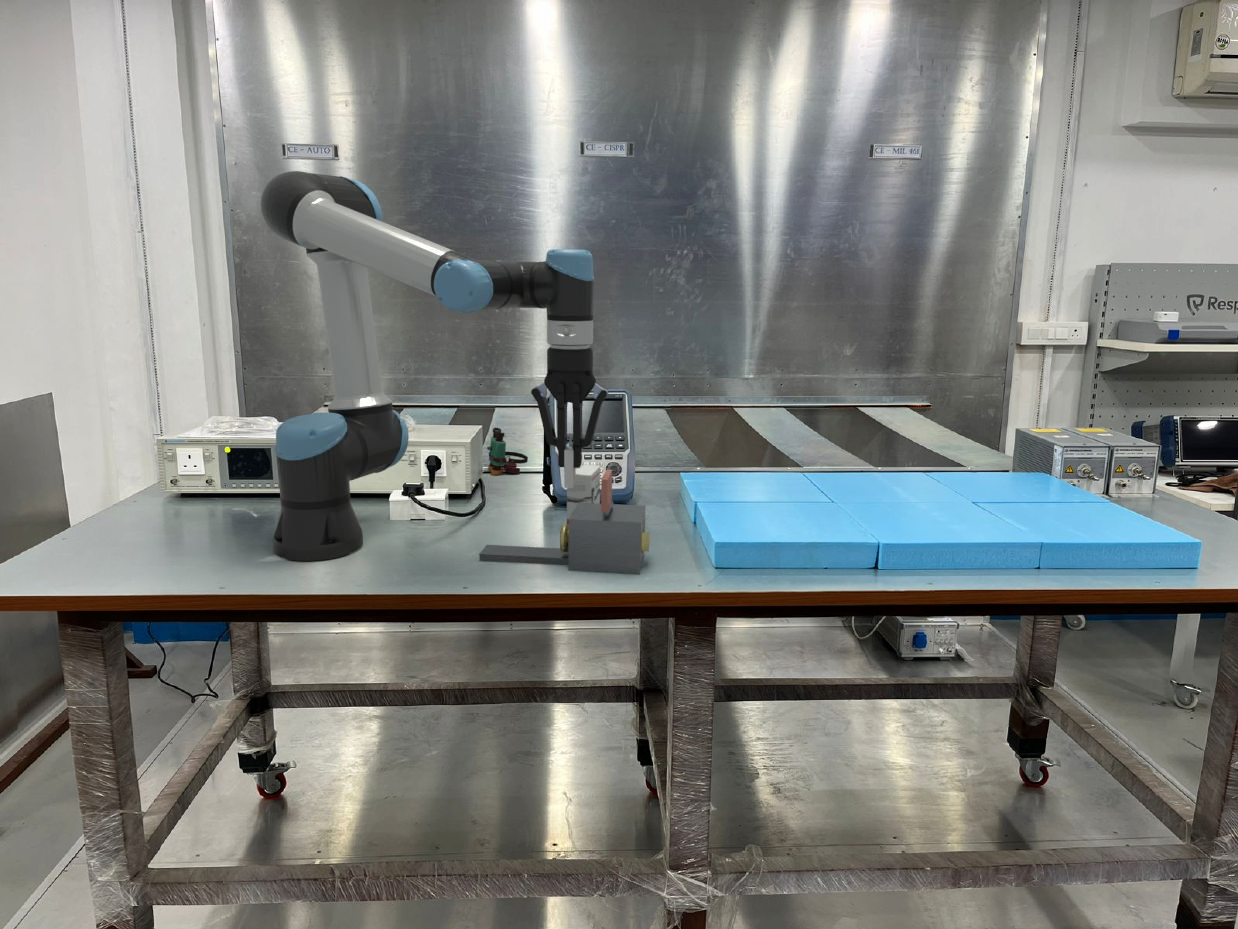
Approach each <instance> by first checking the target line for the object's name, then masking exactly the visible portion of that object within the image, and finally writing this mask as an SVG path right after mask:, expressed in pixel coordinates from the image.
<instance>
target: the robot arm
mask: <svg viewBox="0 0 1238 929" xmlns="http://www.w3.org/2000/svg"><path fill="white" fill-rule="evenodd" d="M260 209H261V210H260V211H261V212H260V213H261V214H262V218H263V220H264V222H265V223H266V226H267V227H268V228H269V229H270V231H272V232H273V233H274V234H275V236H277V237H279V238H281V239H283V240H285V241H287V242H289V243H292V244H296V245H297V246H300V247H302V248H304V249H305V253H306V257H308V258H309V259H310V260H311V261H312V262H314V263H315V265H316V266H317V267H316V268H317V274H318V282H319V288H320V289H319V291H320V296H321V298H320V299H321V304H322V310H323V311H322V312H323V318H324V326H325V333H326V340H327V350H328V354H329V362H330V369H331V370H330V371H331V376H332V384H333V391H334V397H333V400H331V402H329V404H328V405H327V412H312V413H311V414H302V415H297V416H294V417H291V418H289V419H286V420H285V421H283V422H282V423H281V424H280V425H279V426H278V427H277V429H276V431H275V432H276V433H275V443H276V444H275V447H274V451H275V455H276V466H277V475H278V477H277V478H278V484H279V485H278V487H279V495H280V496H279V498H280V512H279V515H278V519H277V524H276V527H275V530H274V535H273V538H272V545H273V554H275V555H276V556H277V557H279V558H282V559H286V560H289V561H290V560H291V561H298V562H299V561H300V562H302V561H305V562H308V561H309V562H312V561H324V560H325V561H326V560H331V559H336V558H341V557H344V556H346V555H351V554H353V553H355V552H357V551H359V550H360V549H361V548H362V547H363V545H364V534H363V533H364V532H363V529H362V527H361V525H360V522H359V520H358V518H357V514H356V512H355V510H354V508H353V505H352V503H351V486H350V482H352V481H354V480H356V479H359V478H364V477H366V476H369V475H372V474H378V473H381V472H384V471H386V470H387V469H389V468H391V467H393V466H394V465H396V464H398V463H399V462H400V461H401V460H402V459H403V457H404V455H405V454H406V453H407V449H408V445H409V440H410V438H409V430H408V425H407V423H406V421H405V420H404V419H403V418H401V415H400V413H399V412H397V411H396V410H394V409H393V408H394V407H393V400H392V399H391V398H390V397H389V396H387V395H386V394H385V393H384V391H383V386H382V378H381V371H380V363H379V362H380V361H379V353H378V345H377V337H376V329H375V321H374V316H373V314H374V313H373V307H372V306H373V305H372V299H371V298H372V297H371V290H370V283H369V282H370V281H369V274H368V269H370V270H372V271H375V272H377V273H380V274H382V275H383V276H384V275H385V276H387V277H390V278H392V279H394V280H396V281H398V282H401V283H404V284H406V285H408V286H411V287H413V288H415V289H418V290H420V291H422V292H425V293H427V294H430V295H432V296H435V297H436V299H437V300H438V301H439V302H440V304H442V307H444V308H446V309H448V310H450V311H452V312H462V313H466V314H467V313H474V312H475V313H476V312H480V311H481V312H482V311H488V310H489V311H490V310H491V311H492V310H499V309H500V310H502V309H503V310H504V309H505V310H506V309H516V308H519V309H546V343H547V344H548V345H550V347H548V349H546V375H545V376H544V380H543V383H541V384H540V385H538V386H535V387H534V388H532V389H531V391H530V393H531V395H532V397H533V398H534V400H535V402H536V403H537V407H538V411H539V415H540V419H541V423H542V426H543V431H544V435H545V440H546V443H547V444H548V445H549V446H553V447H556V449H557V460H558V461H557V465H558V468H563V469H564V471H563V472H564V473H563V474H564V477H563V478H564V480H563V481H564V484H563V485H564V488H566V489H567V488H573V487H574V486H575V484H576V468H580V466H581V464H583V462H582V461H583V458H582V457H583V448H585V447H589V446H591V445H592V443H593V441H594V437H595V433H596V430H597V425H598V422H599V421H598V420H599V417H600V414H601V410H602V405H603V402H604V401H605V399H606V398H607V397H608V395H609V391H610V390H608V388H603V387H602V386H600V385H599V384H598V383H597V382H596V381H597V380H596V378H595V376H594V371H593V370H594V363H593V362H594V350H593V349H592V347H590V346H591V345H592V344H593V343H594V315H593V314H594V281H595V275H594V263H593V262H594V261H593V255H592V253H591V252H590V251H589V250H588V249H587V250H586V249H573V248H569V249H567V248H565V249H564V248H559V249H558V248H551V249H549V250H547V252H546V255H545V256H546V257H545V260H544V261H543V260H542V261H527V260H526V261H524V260H521V261H520V260H518V261H517V260H505V259H503V260H500V259H499V260H481V259H480V260H479V259H475V258H472V257H470V256H468V255H466V254H463V253H461V252H457V251H455V250H452V249H450V248H449V247H446V246H443V245H442V244H439V243H436V242H433V241H431V240H428V239H426V238H423V237H420V236H418V235H416V234H413V233H410V232H408V231H406V230H403V229H401V228H398V227H396V226H393V225H391V224H388V223H386V222H384V221H383V211H382V208H381V205H380V203H379V201H378V199H377V196H376V195H375V193H374V192H373V191H372V190H371V189H370V188H369V187H368V186H367V185H365V184H364V183H363V182H360V181H357V180H355V179H350V178H348V177H345V176H342V175H341V176H340V175H339V176H337V175H329V174H321V173H312V172H306V171H301V170H300V171H298V170H295V171H294V170H293V171H292V170H291V171H286V172H282V173H279V174H277V175H276V176H274V177H272V179H270V180H269V181H268V183H266V184H265V187H264V189H263V190H262V194H261V197H260ZM547 390H548V391H549V392H550V394H551V395H552V397H553V399H554V400H555V401H556V409H557V435H556V431H555V426H554V422H553V418H552V413H551V410H550V406H549V402H548V399H547V396H548V391H547ZM591 392H593V394H592V398H593V399H594V401H593V404H592V408H591V412H590V416H589V420H588V423H587V427H586V431H585V435H584V438H583V406H584V404H583V403H584V400H586V398H587V397H588V395H589V394H590V393H591ZM568 403H571V405H572V446H567V445H568V443H569V442H568V405H569V404H568Z"/></svg>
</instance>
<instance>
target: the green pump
mask: <svg viewBox="0 0 1238 929" xmlns="http://www.w3.org/2000/svg"><path fill="white" fill-rule="evenodd" d="M492 433H493V436H491V439H490V446H487V448H486V450H487V451H489V452H488V461H489V464H488V465H487V470H488V471H490V475H493V476H496V475H501V474H502V473H510V474H516V475H517V474H518V475H519V474H520V473H521V468H519V467H517V465H518V464H521V465H522V464H526V463H528V458H529V457H528V456H527V455H525V454H523V453H520V452H515V451H506V446H507V443H506V441H504V440H503V439H504V437H505V432H502V429H501V428H499V427H493V428H492ZM511 457H517V458H519V459H516V458H511ZM507 458H508V459H507Z"/></svg>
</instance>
